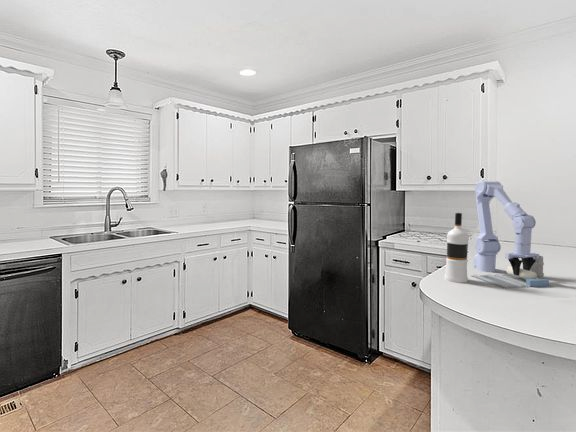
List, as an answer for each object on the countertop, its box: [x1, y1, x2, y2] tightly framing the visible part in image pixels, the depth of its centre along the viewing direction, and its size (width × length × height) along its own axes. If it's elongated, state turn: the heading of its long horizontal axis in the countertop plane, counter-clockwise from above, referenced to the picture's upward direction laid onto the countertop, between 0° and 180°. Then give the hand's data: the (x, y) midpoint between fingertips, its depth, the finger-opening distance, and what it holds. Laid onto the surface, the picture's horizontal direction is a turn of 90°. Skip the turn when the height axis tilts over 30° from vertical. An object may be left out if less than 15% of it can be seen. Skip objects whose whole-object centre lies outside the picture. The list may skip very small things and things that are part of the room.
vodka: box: [443, 212, 470, 284], centre depth 149 cm, size 9×9×30 cm
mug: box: [530, 255, 545, 279], centre depth 158 cm, size 8×12×12 cm, turn 139°
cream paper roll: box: [506, 265, 538, 280], centre depth 149 cm, size 12×4×4 cm, turn 8°
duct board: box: [471, 273, 553, 289], centre depth 149 cm, size 20×22×4 cm
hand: (520, 274), depth 150 cm, fingers closed on cream paper roll, 4 cm apart
